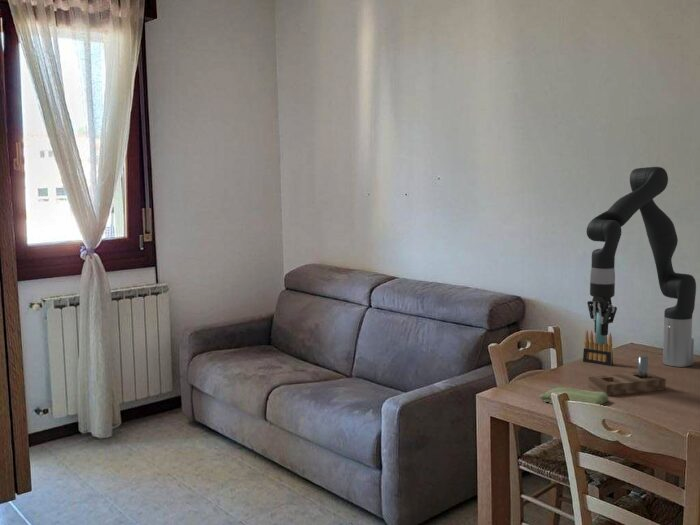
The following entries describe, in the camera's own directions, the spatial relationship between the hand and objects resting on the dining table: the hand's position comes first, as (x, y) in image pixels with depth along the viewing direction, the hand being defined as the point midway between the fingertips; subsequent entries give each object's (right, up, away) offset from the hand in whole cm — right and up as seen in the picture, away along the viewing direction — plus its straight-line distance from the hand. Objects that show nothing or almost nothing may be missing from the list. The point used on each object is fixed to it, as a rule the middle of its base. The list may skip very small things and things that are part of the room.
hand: (601, 333), depth 235 cm
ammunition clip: (+10, -14, +31) cm, 36 cm away
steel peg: (+14, -17, 0) cm, 22 cm away
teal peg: (0, -3, 0) cm, 3 cm away
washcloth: (-13, -20, -13) cm, 27 cm away
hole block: (+8, -18, -1) cm, 19 cm away
